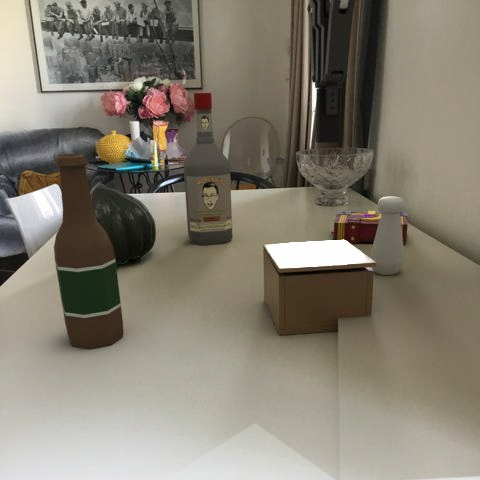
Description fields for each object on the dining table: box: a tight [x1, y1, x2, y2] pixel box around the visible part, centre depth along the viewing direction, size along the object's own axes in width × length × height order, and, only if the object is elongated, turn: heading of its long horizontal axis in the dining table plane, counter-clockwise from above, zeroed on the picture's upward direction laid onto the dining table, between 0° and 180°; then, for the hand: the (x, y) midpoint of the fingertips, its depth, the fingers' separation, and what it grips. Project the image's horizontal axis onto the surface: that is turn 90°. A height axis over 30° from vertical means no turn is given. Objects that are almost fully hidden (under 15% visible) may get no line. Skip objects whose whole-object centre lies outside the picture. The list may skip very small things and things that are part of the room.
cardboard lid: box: [262, 240, 376, 273], centre depth 79 cm, size 14×13×1 cm
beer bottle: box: [53, 153, 125, 350], centre depth 72 cm, size 8×8×24 cm
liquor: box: [183, 92, 234, 246], centre depth 119 cm, size 9×9×30 cm
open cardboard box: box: [262, 249, 375, 336], centre depth 81 cm, size 14×13×8 cm
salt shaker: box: [369, 195, 405, 276], centre depth 97 cm, size 6×6×13 cm
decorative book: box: [330, 210, 409, 244], centre depth 121 cm, size 11×16×5 cm
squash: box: [90, 186, 157, 265], centre depth 110 cm, size 14×15×15 cm
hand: (327, 141), depth 74 cm, fingers closed
